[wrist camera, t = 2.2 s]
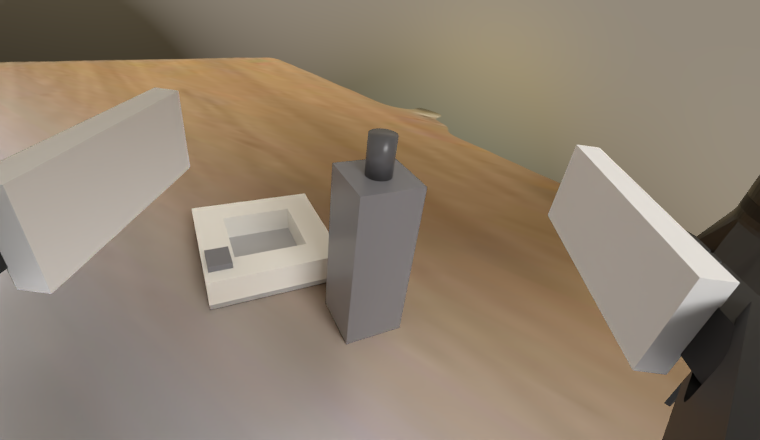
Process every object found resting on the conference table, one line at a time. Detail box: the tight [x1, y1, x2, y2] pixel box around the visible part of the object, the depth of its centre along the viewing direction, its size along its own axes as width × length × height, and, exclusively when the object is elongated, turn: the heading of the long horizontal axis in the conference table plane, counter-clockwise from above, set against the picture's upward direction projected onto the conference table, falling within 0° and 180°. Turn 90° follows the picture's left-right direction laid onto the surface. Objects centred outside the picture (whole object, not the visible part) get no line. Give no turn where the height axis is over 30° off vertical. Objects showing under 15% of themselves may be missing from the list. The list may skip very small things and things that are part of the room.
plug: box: [326, 129, 427, 344], centre depth 31 cm, size 5×5×17 cm
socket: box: [192, 193, 329, 310], centre depth 40 cm, size 12×12×4 cm
